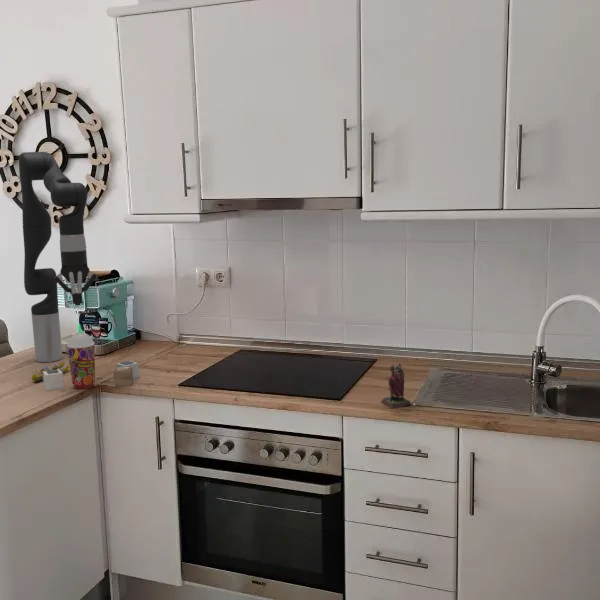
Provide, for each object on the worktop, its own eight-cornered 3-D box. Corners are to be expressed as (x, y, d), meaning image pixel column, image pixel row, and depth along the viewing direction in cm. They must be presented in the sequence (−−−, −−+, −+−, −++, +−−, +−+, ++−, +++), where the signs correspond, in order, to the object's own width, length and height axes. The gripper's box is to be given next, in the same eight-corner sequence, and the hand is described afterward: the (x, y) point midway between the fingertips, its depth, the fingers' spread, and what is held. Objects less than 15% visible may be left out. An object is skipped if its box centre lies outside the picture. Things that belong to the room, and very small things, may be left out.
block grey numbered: (117, 378, 229) (116, 362, 228) (130, 375, 232) (129, 359, 231) (125, 381, 225) (124, 365, 224) (138, 377, 229) (137, 362, 228)
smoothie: (79, 391, 214) (74, 328, 211) (65, 386, 220) (60, 324, 217) (103, 385, 221) (98, 323, 217) (88, 380, 226) (84, 320, 223)
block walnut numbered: (117, 382, 224) (116, 366, 223) (133, 381, 224) (132, 365, 223) (114, 387, 219) (113, 370, 218) (130, 386, 219) (129, 370, 218)
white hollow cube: (44, 386, 221) (42, 370, 220) (60, 384, 223) (59, 368, 223) (47, 390, 217) (45, 374, 216) (63, 388, 219) (62, 371, 218)
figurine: (411, 406, 195) (412, 364, 192) (390, 409, 192) (390, 367, 190) (400, 399, 201) (401, 359, 198) (380, 402, 198) (380, 361, 196)
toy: (74, 366, 237) (44, 376, 223) (66, 378, 239) (36, 388, 225) (63, 356, 238) (33, 365, 224) (56, 367, 240) (25, 377, 226)
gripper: (94, 247, 219) (99, 301, 222) (50, 249, 214) (54, 305, 217) (96, 249, 212) (100, 305, 215) (50, 251, 207) (55, 309, 210)
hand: (77, 305), depth 216 cm, fingers closed
